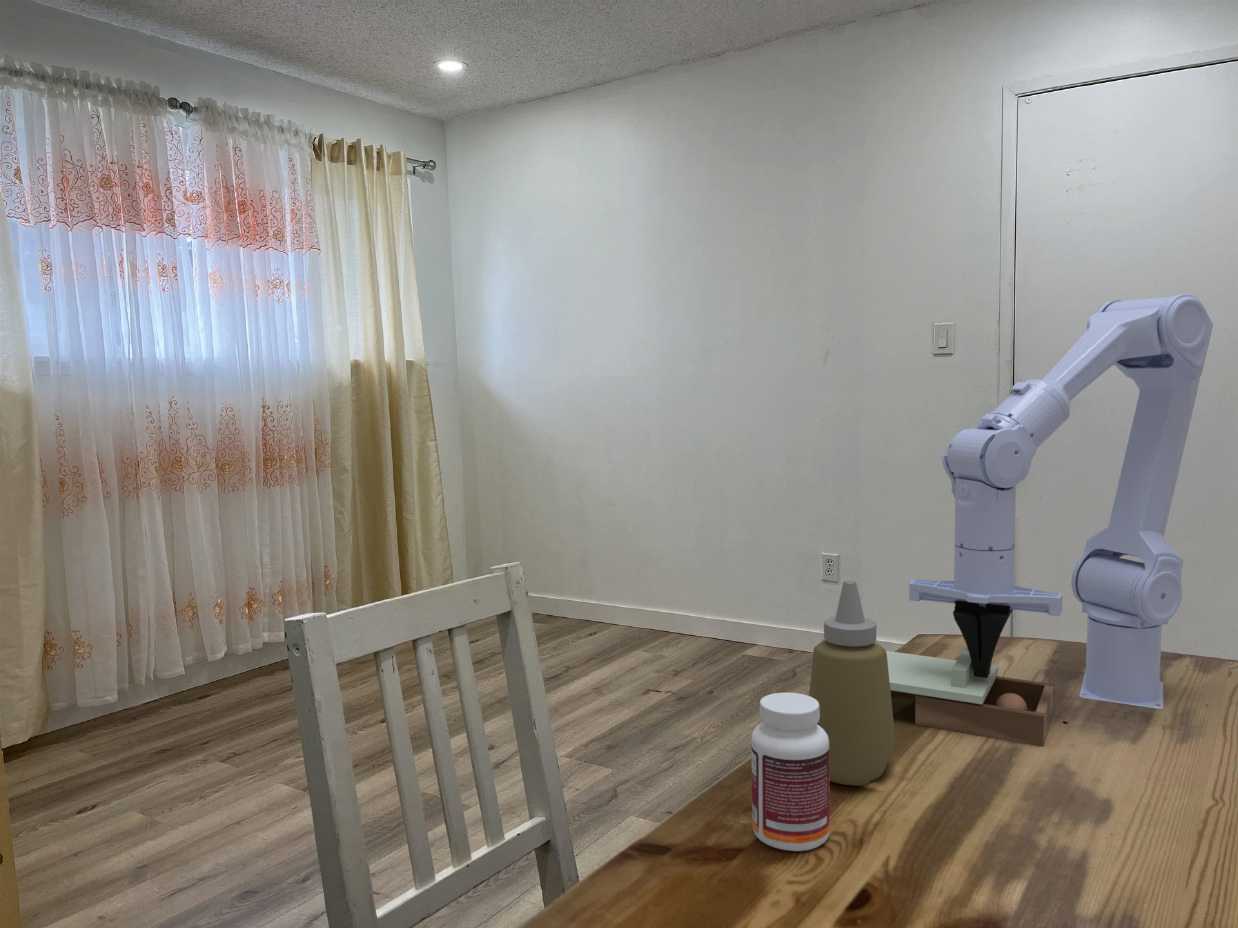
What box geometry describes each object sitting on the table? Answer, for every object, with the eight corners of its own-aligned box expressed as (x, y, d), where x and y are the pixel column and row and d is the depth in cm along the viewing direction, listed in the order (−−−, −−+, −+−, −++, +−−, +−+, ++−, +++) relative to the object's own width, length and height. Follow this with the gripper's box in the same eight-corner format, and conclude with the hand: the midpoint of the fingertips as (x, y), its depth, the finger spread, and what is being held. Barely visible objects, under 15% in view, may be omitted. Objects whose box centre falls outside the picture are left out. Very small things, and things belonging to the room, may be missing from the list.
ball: (997, 714, 96) (998, 687, 95) (1028, 719, 94) (1029, 691, 94) (993, 724, 93) (993, 696, 93) (1025, 729, 92) (1025, 700, 91)
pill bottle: (846, 838, 73) (846, 705, 72) (789, 862, 69) (789, 723, 68) (791, 808, 78) (790, 683, 77) (736, 829, 74) (734, 699, 73)
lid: (885, 657, 105) (885, 635, 105) (998, 673, 99) (998, 649, 98) (859, 685, 96) (859, 661, 96) (982, 704, 90) (982, 678, 90)
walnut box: (935, 698, 102) (936, 667, 102) (1053, 717, 96) (1054, 684, 96) (915, 729, 94) (915, 695, 93) (1042, 752, 88) (1043, 716, 87)
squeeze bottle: (788, 775, 84) (787, 584, 82) (832, 747, 90) (832, 569, 88) (868, 802, 78) (869, 598, 77) (910, 770, 84) (912, 580, 82)
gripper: (902, 547, 93) (901, 675, 95) (1058, 559, 86) (1055, 697, 88) (918, 535, 99) (916, 656, 101) (1065, 545, 92) (1061, 675, 94)
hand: (981, 674), depth 95 cm, fingers closed
